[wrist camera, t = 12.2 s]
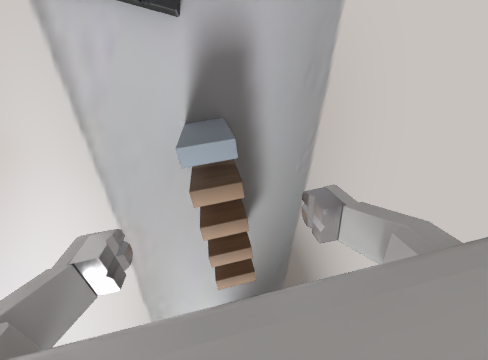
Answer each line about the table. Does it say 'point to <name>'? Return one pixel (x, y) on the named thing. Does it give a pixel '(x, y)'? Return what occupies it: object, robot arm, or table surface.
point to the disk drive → (158, 5)
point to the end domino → (206, 143)
